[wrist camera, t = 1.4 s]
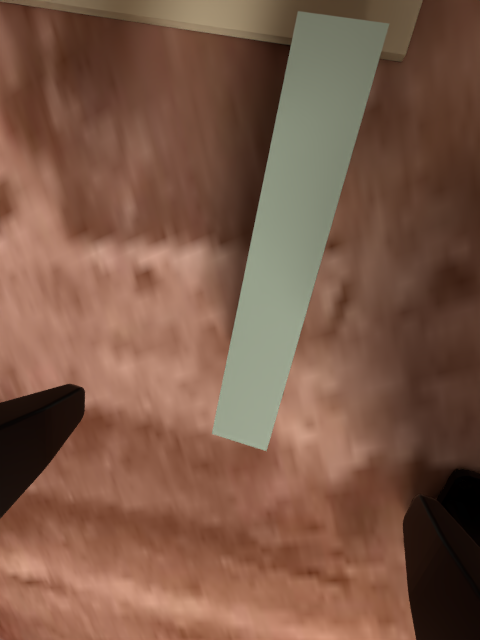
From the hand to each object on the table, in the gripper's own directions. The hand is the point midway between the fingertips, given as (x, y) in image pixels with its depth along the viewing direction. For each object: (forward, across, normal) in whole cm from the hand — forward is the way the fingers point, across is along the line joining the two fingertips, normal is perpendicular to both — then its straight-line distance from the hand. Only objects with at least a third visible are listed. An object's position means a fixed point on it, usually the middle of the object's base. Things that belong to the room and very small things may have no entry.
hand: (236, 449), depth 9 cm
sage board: (+8, 0, -4) cm, 9 cm away
